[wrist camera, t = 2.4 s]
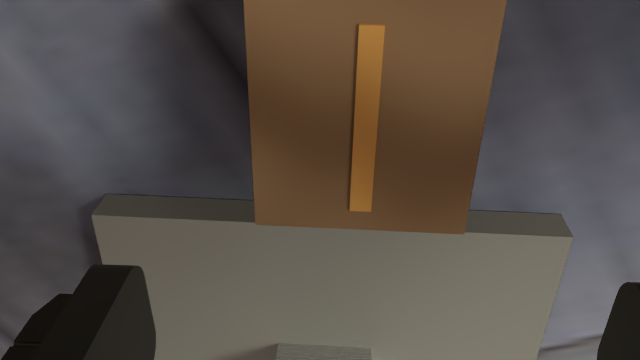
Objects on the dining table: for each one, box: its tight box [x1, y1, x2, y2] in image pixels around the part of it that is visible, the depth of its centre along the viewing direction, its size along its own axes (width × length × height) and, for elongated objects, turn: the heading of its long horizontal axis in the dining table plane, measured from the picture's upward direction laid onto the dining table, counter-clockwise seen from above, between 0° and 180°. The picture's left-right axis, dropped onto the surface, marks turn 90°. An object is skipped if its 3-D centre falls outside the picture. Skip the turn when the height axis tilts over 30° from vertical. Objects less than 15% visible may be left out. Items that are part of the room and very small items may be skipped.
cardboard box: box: [243, 0, 507, 235], centre depth 17 cm, size 7×6×6 cm
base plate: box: [91, 194, 574, 360], centre depth 25 cm, size 14×18×2 cm
